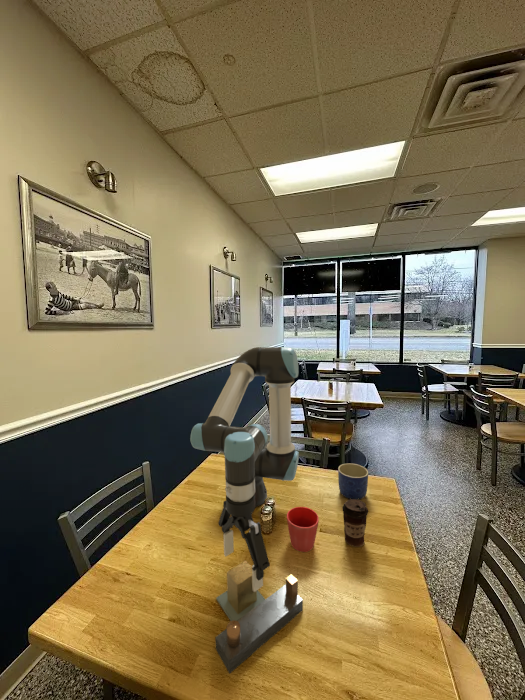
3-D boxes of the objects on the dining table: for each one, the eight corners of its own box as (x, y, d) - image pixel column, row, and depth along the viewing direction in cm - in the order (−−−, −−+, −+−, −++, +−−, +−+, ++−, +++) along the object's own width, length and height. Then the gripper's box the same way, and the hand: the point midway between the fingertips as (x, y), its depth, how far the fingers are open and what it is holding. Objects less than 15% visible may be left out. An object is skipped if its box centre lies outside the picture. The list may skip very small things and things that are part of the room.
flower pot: (322, 537, 100) (322, 510, 100) (313, 560, 90) (313, 531, 90) (292, 528, 105) (292, 503, 104) (282, 550, 95) (281, 522, 94)
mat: (216, 599, 78) (216, 597, 78) (246, 579, 84) (246, 577, 84) (236, 630, 70) (236, 627, 70) (268, 605, 76) (268, 603, 76)
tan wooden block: (237, 614, 73) (237, 585, 73) (227, 599, 77) (226, 571, 76) (256, 600, 77) (256, 572, 76) (246, 587, 81) (245, 560, 80)
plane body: (229, 673, 61) (228, 643, 61) (215, 649, 66) (214, 620, 65) (302, 610, 75) (302, 585, 74) (286, 593, 79) (286, 569, 79)
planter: (370, 491, 128) (371, 467, 127) (363, 506, 117) (364, 480, 116) (342, 483, 134) (343, 460, 133) (334, 497, 124) (334, 472, 123)
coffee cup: (369, 552, 93) (370, 514, 92) (342, 548, 95) (343, 511, 94) (365, 533, 102) (366, 498, 101) (341, 530, 104) (341, 495, 103)
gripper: (204, 478, 82) (207, 547, 84) (258, 527, 62) (259, 615, 65) (227, 469, 87) (229, 535, 89) (284, 512, 67) (284, 595, 69)
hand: (242, 569), depth 77 cm, fingers open, 13 cm apart
